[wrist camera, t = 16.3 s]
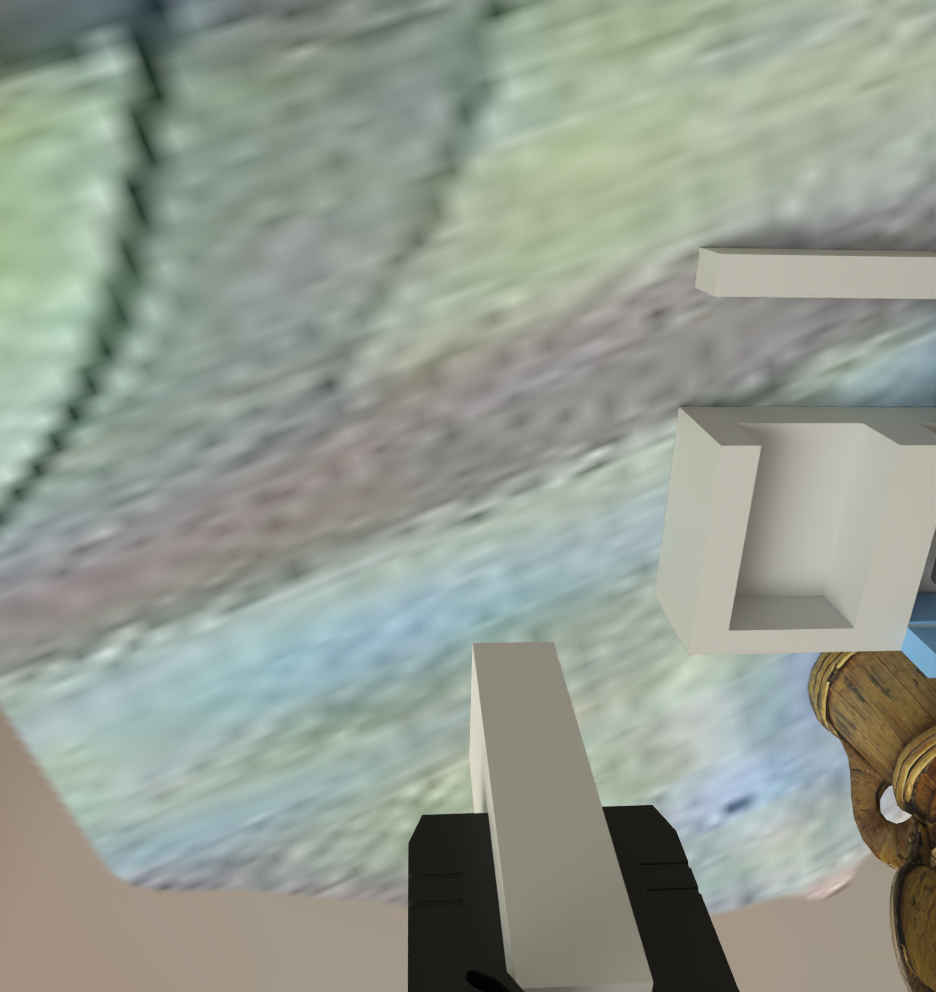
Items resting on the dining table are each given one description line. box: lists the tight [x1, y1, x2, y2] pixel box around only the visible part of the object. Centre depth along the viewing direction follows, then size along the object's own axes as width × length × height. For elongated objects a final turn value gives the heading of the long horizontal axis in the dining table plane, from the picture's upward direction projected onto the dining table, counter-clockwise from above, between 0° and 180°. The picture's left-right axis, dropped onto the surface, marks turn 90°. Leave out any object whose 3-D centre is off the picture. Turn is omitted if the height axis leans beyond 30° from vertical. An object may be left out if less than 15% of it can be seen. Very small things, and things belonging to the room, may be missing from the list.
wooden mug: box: [808, 651, 936, 992], centre depth 45 cm, size 9×14×18 cm, turn 135°
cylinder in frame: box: [654, 248, 936, 678], centre depth 41 cm, size 20×22×9 cm
